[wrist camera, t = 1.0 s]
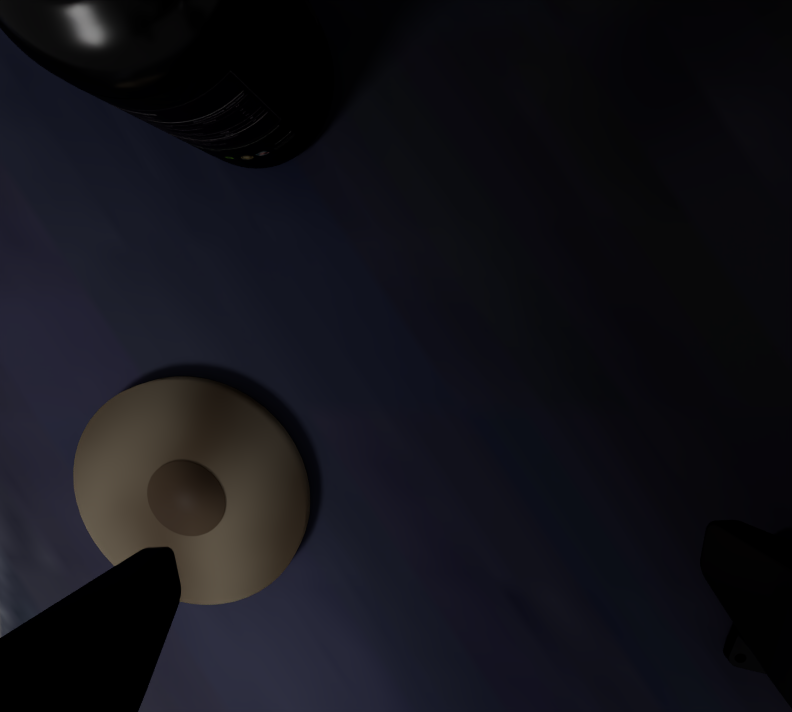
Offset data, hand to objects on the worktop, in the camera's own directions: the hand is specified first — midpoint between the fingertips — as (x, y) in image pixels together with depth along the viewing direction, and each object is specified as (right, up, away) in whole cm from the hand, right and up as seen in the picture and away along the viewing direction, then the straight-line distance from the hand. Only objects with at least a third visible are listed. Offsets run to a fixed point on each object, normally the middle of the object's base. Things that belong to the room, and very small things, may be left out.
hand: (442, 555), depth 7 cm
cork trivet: (-11, -4, +14) cm, 18 cm away
